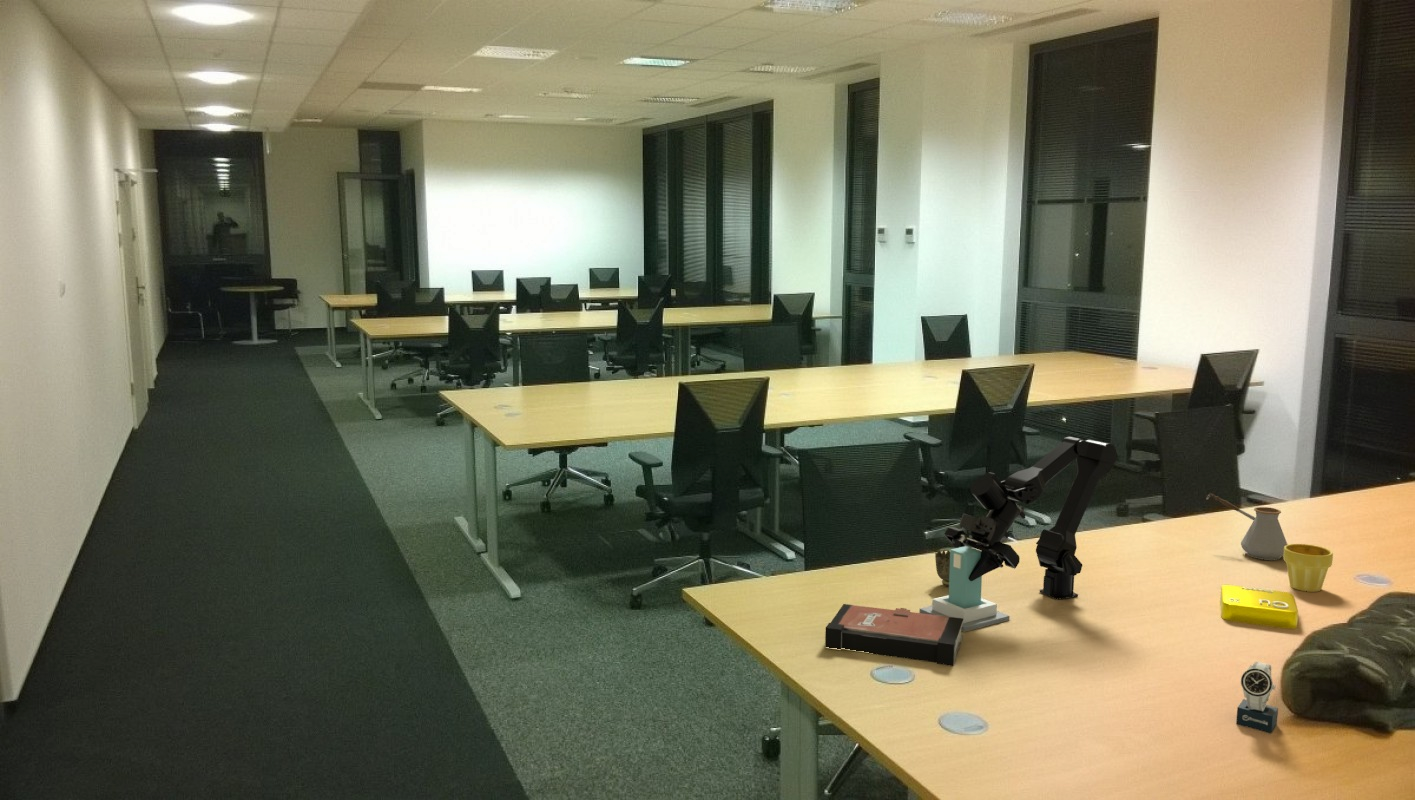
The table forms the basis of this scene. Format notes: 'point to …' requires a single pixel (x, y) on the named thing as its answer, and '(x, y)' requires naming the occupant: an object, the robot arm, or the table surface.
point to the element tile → (1258, 606)
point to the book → (896, 633)
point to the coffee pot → (1261, 533)
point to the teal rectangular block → (964, 577)
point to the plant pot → (1307, 566)
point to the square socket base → (967, 613)
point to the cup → (943, 566)
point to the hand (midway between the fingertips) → (961, 576)
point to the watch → (1257, 699)
